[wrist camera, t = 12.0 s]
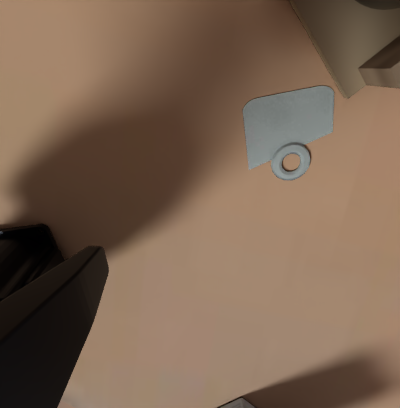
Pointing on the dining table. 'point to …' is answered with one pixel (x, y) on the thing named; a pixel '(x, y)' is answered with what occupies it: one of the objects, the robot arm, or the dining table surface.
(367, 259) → the dining table surface
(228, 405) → the coffee box
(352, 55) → the walnut well
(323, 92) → the mounting bracket
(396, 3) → the supplement bottle
